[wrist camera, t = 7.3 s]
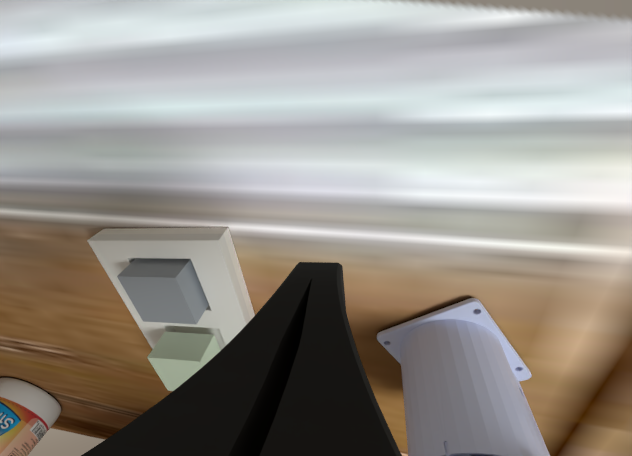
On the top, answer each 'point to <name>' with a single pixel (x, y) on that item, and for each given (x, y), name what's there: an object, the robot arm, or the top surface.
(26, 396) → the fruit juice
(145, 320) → the key slate
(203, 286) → the keypad
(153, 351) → the key sage
